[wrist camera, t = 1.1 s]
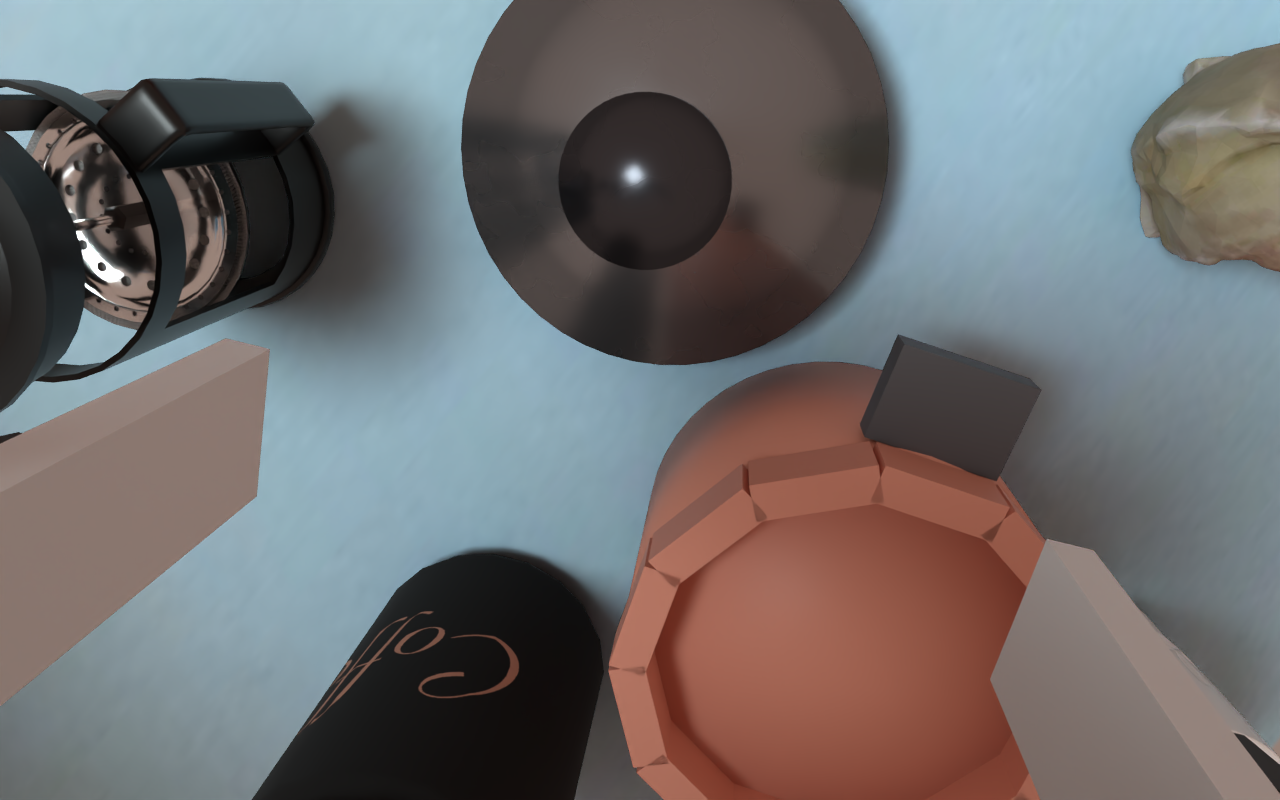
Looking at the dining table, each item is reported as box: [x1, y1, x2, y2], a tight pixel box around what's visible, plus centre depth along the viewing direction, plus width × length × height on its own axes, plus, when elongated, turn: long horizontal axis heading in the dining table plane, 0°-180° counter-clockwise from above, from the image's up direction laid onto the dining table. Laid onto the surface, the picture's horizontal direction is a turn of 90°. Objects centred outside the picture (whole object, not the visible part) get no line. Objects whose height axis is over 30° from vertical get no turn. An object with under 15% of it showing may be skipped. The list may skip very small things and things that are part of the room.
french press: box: [0, 78, 335, 412], centre depth 28 cm, size 12×9×23 cm
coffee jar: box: [252, 554, 604, 800], centre depth 36 cm, size 11×11×18 cm
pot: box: [608, 335, 1046, 800], centre depth 35 cm, size 21×15×12 cm
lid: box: [461, 0, 889, 365], centre depth 31 cm, size 16×16×13 cm
